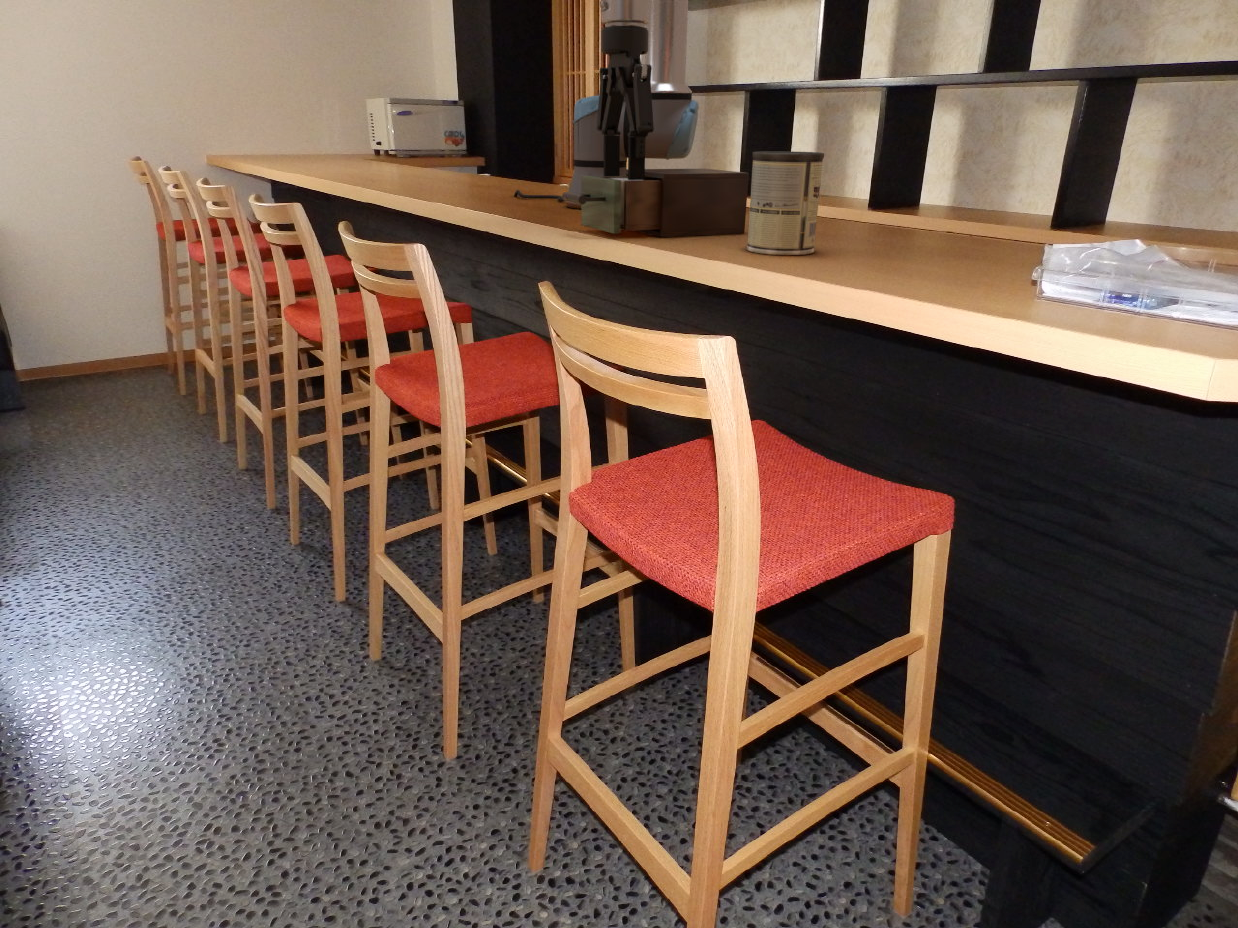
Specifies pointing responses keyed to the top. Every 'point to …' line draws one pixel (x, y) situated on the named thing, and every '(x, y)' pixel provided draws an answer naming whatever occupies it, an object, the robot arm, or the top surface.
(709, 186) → the cabinet
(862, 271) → the top surface
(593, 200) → the drawer
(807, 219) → the coffee can
